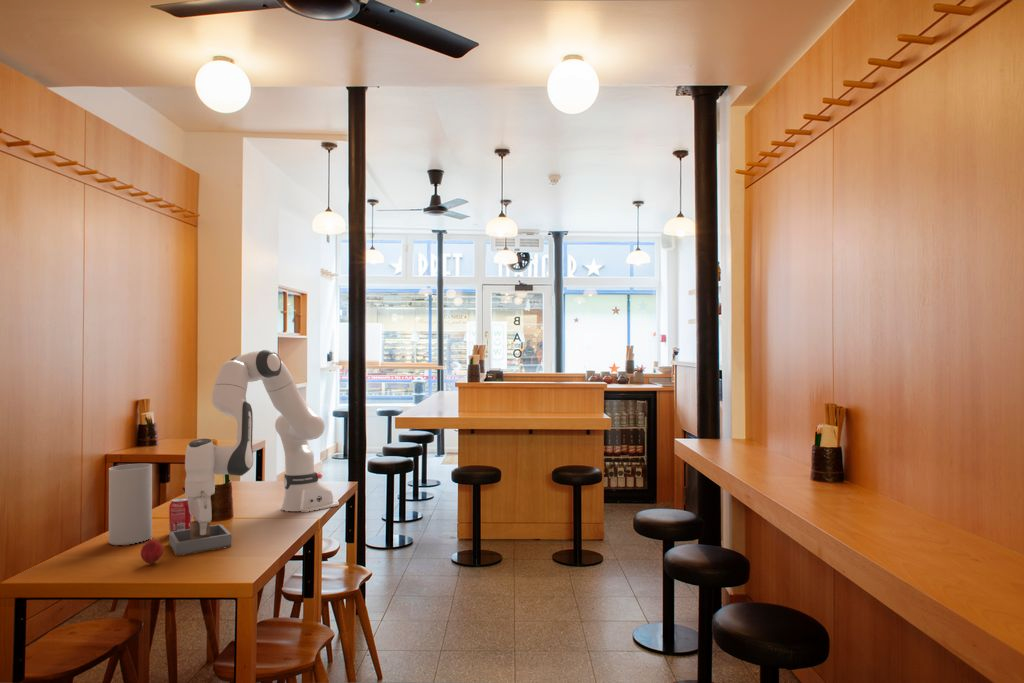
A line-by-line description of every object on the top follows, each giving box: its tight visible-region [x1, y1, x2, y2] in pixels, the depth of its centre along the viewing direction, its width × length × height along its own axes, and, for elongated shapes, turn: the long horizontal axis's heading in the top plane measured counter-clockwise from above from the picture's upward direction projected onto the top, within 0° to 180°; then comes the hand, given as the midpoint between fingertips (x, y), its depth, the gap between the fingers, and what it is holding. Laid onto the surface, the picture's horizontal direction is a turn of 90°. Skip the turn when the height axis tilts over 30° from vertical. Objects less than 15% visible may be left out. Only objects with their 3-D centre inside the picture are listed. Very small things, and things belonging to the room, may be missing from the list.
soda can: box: [168, 497, 193, 532], centre depth 219 cm, size 7×7×12 cm
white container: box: [108, 463, 153, 546], centre depth 211 cm, size 12×12×25 cm
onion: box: [140, 536, 164, 565], centre depth 186 cm, size 6×6×8 cm
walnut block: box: [190, 520, 211, 540], centre depth 205 cm, size 5×5×7 cm
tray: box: [168, 523, 233, 556], centre depth 204 cm, size 16×16×4 cm
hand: (200, 531), depth 205 cm, fingers open, 8 cm apart
